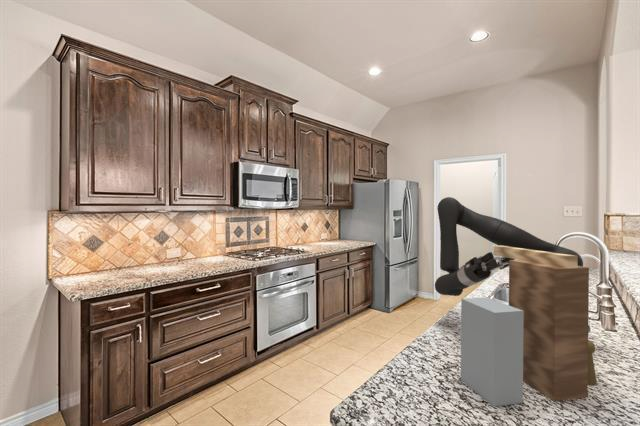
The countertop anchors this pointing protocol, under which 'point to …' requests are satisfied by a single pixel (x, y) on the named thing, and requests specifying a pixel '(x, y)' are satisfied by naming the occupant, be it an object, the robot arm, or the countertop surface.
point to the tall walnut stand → (553, 326)
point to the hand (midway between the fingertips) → (504, 254)
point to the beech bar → (537, 256)
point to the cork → (591, 364)
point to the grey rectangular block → (492, 350)
